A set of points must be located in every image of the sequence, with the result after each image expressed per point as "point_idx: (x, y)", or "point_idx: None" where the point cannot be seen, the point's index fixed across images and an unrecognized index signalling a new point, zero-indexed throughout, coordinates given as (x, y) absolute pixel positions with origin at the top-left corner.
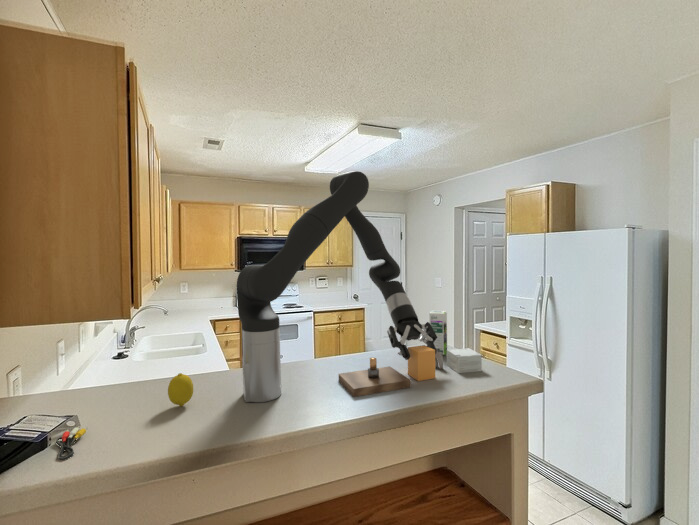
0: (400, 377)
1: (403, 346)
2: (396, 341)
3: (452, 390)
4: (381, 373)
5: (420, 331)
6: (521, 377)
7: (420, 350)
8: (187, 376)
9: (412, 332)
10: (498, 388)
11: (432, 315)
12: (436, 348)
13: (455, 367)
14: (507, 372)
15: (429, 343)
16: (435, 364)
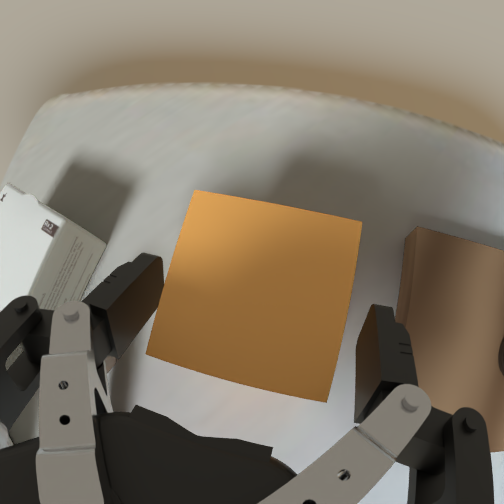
0: (439, 277)
1: (398, 385)
2: (472, 420)
3: (282, 130)
4: (474, 375)
5: (82, 410)
6: (44, 122)
7: (305, 247)
8: None
9: (187, 481)
10: (153, 86)
11: None
12: None
13: (89, 256)
14: (24, 163)
15: (114, 310)
16: (108, 361)
